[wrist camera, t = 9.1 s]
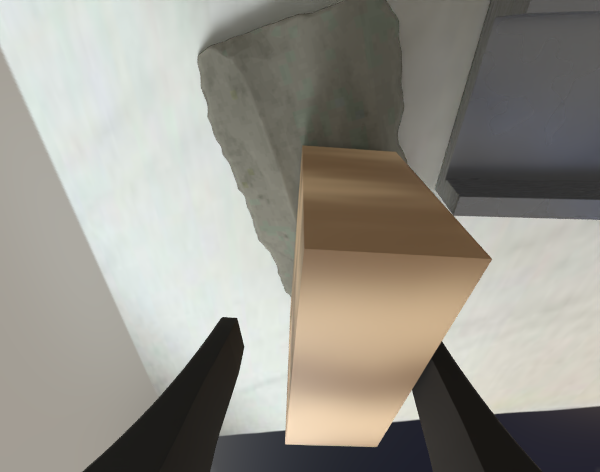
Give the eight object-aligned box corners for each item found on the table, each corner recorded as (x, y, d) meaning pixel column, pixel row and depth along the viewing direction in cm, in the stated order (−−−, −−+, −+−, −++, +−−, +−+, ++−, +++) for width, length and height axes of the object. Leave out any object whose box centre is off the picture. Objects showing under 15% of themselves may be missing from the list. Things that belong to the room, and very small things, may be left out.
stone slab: (383, -18, 12) (180, 60, 13) (406, -34, 10) (158, 63, 11) (413, 307, 24) (306, 330, 26) (426, 333, 22) (308, 358, 23)
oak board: (351, 314, 20) (376, 446, 13) (290, 311, 20) (285, 444, 13) (396, 152, 13) (492, 259, 6) (302, 145, 13) (304, 248, 6)
